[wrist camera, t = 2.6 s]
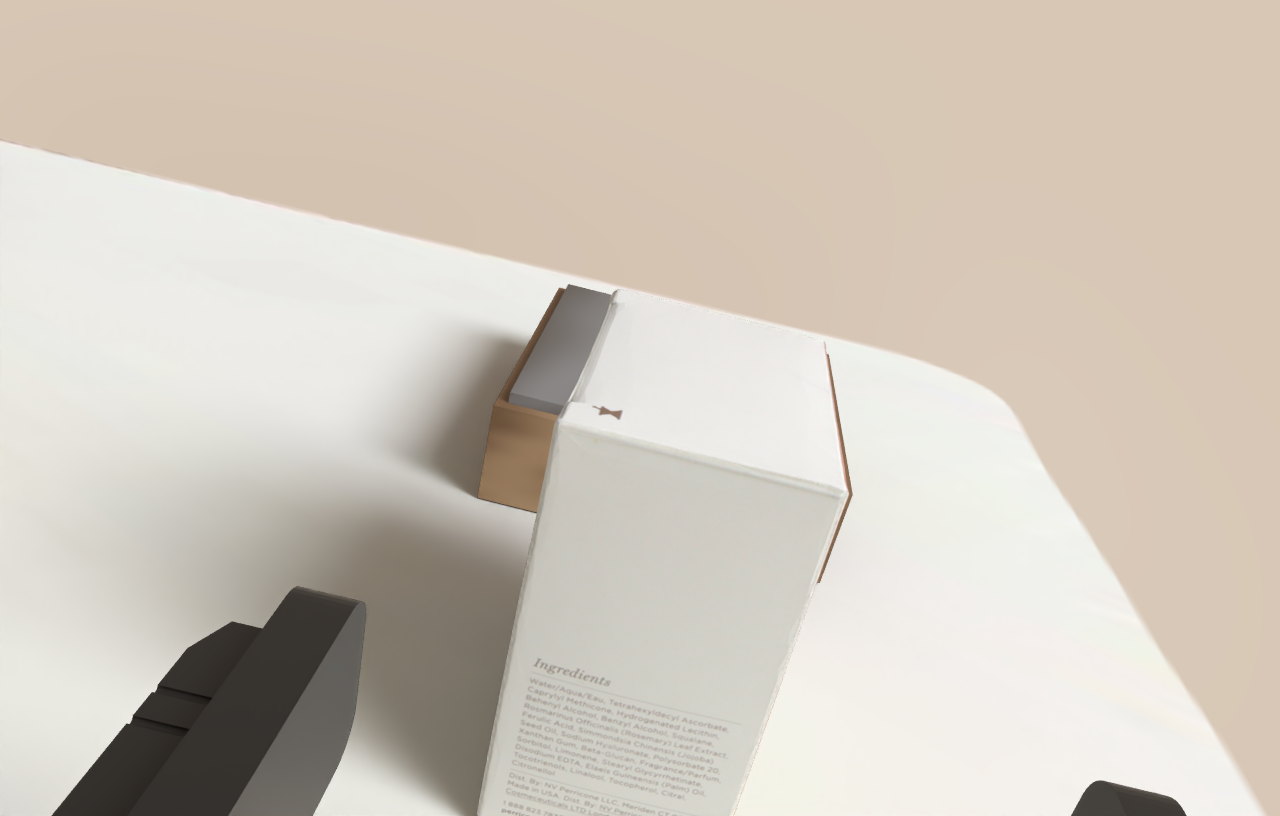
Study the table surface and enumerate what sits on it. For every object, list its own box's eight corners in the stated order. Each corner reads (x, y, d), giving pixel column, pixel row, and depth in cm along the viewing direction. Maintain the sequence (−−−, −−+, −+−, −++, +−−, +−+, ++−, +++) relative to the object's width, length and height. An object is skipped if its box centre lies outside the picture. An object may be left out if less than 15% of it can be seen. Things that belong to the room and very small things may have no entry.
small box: (709, 890, 22) (856, 497, 18) (467, 826, 22) (551, 418, 18) (725, 658, 30) (833, 335, 25) (542, 610, 30) (615, 280, 25)
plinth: (477, 497, 34) (495, 394, 32) (544, 361, 45) (561, 279, 43) (819, 582, 34) (856, 484, 32) (804, 426, 45) (831, 346, 43)
